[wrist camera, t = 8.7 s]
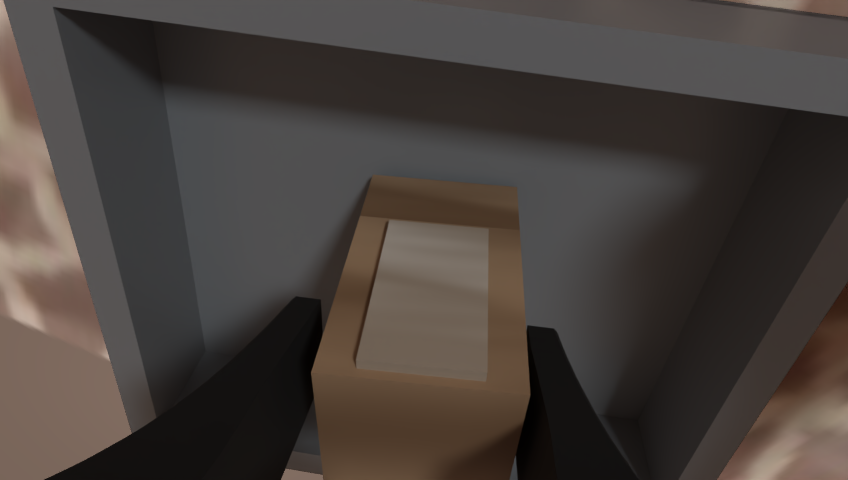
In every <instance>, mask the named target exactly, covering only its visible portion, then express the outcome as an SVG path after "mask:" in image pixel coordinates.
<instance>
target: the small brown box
mask: <svg viewBox="0 0 848 480" xmlns="http://www.w3.org/2000/svg"><path fill="white" fill-rule="evenodd" d="M311 376H312V384H313V393H314V402H315V410H316V419H317V427H318V436H319V445H320V453H321V462H322V470H323V479H324V480H509V479H510V475H511V471H512V467H513V463H514V459H515V455H516V451H517V447H518V443H519V439H520V435H521V431H522V427H523V423H524V419H525V415H526V411H527V407H528V403H529V399H530V382H529V366H528V350H527V335H526V319H525V304H524V288H523V272H522V257H521V241H520V225H519V210H518V194H517V187H511V186H499V185H488V184H476V183H464V182H453V181H441V180H430V179H418V178H406V177H395V176H383V175H373V176H372V179H371V182H370V185H369V189H368V192H367V195H366V198H365V201H364V205H363V208H362V211H361V214H360V218H359V221H358V224H357V227H356V230H355V234H354V237H353V240H352V243H351V246H350V250H349V253H348V256H347V259H346V262H345V266H344V269H343V272H342V275H341V278H340V282H339V285H338V288H337V291H336V294H335V298H334V301H333V304H332V307H331V311H330V314H329V317H328V320H327V323H326V327H325V330H324V333H323V336H322V339H321V343H320V346H319V349H318V352H317V355H316V359H315V362H314V365H313V368H312V371H311Z"/></svg>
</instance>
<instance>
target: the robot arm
mask: <svg viewBox="0 0 848 480" xmlns="http://www.w3.org/2000/svg"><path fill="white" fill-rule="evenodd" d="M526 335H527V350H528V366H529V382H530V399H529V403H528V407H527V411H526V415H525V419H524V423H523V427H522V431H521V435H520V439H519V443H518V447H517V451H516V466H517V478H518V480H640V479H639V478H638V477H637V475H636V474H635V473H634V471H633V470H632V468H631V467H630V466H629V464H628V463H627V461H626V460H625V459H624V457H623V456H622V454H621V453H620V451H619V450H618V448H617V447H616V445H615V444H614V442H613V441H612V439H611V437H610V436H609V434H608V433H607V431H606V429H605V428H604V426H603V424H602V423H601V421H600V419H599V418H598V416H597V414H596V413H595V411H594V409H593V407H592V405H591V404H590V402H589V400H588V398H587V396H586V394H585V392H584V390H583V389H582V387H581V385H580V383H579V381H578V379H577V377H576V375H575V373H574V370H573V368H572V366H571V364H570V362H569V360H568V357H567V355H566V353H565V350H564V348H563V346H562V343H561V341H560V338H559V335H558V333H557V331H556V330H555V329H554V328H546V327H538V326H530V325H528V326H527V331H526ZM322 336H323V329H322V311H321V299H314V298H306V297H298V296H296V297H294V298H293V299H292V300H291V301H290V302H289V303H288V304H287V305H286V306H285V307H284V308H283V309H282V310H281V311H280V313H279V314H278V315H277V316H276V317H275V318H274V319H273V320H272V321H271V322H270V323H269V324H268V325H267V326H266V327H265V328H264V329H263V330H262V331H261V332H260V333H259V334H258V335H257V336H256V337H255V338H254V339H253V340H252V341H251V342H250V343H249V344H248V345H247V346H246V347H244V348H243V349H242V350H241V351H240V352H239V353H238V354H237V355H236V356H235V357H234V358H233V359H232V360H230V361H229V362H228V363H227V364H226V365H225V366H223V367H222V368H221V369H220V370H219V371H218V372H217V373H215V374H214V375H213V376H212V377H211V378H210V379H208V380H207V381H206V382H205V383H203V384H202V385H201V386H200V387H198V388H197V389H196V390H195V391H193V392H192V393H191V394H189V395H188V396H187V397H185V398H184V399H183V400H181V401H180V402H179V403H177V404H176V405H174V406H173V407H172V408H170V409H169V410H167V411H166V412H164V413H163V414H161V415H160V416H158V417H157V418H155V419H154V420H152V421H151V422H149V423H148V424H146V425H145V426H143V427H142V428H140V429H139V430H137V431H135V432H134V433H132V434H131V435H129V436H127V437H126V438H124V439H122V440H120V441H119V442H117V443H115V444H113V445H112V446H110V447H108V448H106V449H104V450H103V451H101V452H99V453H97V454H95V455H93V456H92V457H90V458H88V459H86V460H84V461H82V462H80V463H78V464H76V465H74V466H72V467H70V468H68V469H66V470H64V471H62V472H60V473H58V474H55V475H53V476H51V477H49V478H47V479H45V480H281V478H282V475H283V473H284V471H285V468H286V466H287V463H288V461H289V458H290V456H291V454H292V451H293V449H294V446H295V444H296V441H297V439H298V436H299V434H300V432H301V429H302V427H303V424H304V422H305V419H306V417H307V414H308V412H309V409H310V407H311V404H312V402H313V399H314V393H313V384H312V376H311V371H312V368H313V365H314V362H315V359H316V355H317V352H318V349H319V346H320V343H321V339H322Z"/></svg>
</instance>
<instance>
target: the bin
mask: <svg viewBox="0 0 848 480" xmlns="http://www.w3.org/2000/svg"><path fill="white" fill-rule="evenodd" d="M4 4H5V7H6V10H7V14H8V17H9V20H10V24H11V27H12V31H13V34H14V37H15V41H16V44H17V47H18V51H19V54H20V58H21V61H22V64H23V68H24V71H25V74H26V78H27V81H28V85H29V88H30V91H31V95H32V98H33V101H34V105H35V108H36V111H37V115H38V118H39V122H40V125H41V128H42V132H43V135H44V138H45V142H46V145H47V149H48V152H49V155H50V159H51V162H52V165H53V169H54V172H55V176H56V179H57V182H58V186H59V189H60V192H61V196H62V199H63V203H64V206H65V209H66V213H67V216H68V219H69V223H70V226H71V230H72V233H73V236H74V240H75V243H76V246H77V250H78V253H79V256H80V260H81V263H82V267H83V270H84V273H85V277H86V280H87V283H88V287H89V290H90V294H91V297H92V300H93V304H94V307H95V310H96V314H97V317H98V321H99V324H100V327H101V331H102V334H103V337H104V341H105V344H106V348H107V351H108V354H109V358H110V361H111V364H112V368H113V371H114V374H115V378H116V381H117V385H118V388H119V391H120V395H121V398H122V401H123V405H124V408H125V412H126V415H127V418H128V422H129V425H130V428H131V432H132V433H134V432H135V431H137V430H139V429H140V428H142V427H143V426H145V425H146V424H148V423H149V422H151V421H152V420H154V419H155V418H157V417H158V416H160V415H161V414H163V413H164V412H166V411H167V410H169V409H170V408H172V407H173V406H174V405H176V404H177V403H179V402H180V401H181V400H183V399H184V398H185V397H187V396H188V395H189V394H191V393H192V392H193V391H195V390H196V389H197V388H198V387H200V386H201V385H202V384H203V383H205V382H206V381H207V380H208V379H210V378H211V377H212V376H213V375H214V374H215V373H217V372H218V371H219V370H220V369H221V368H222V367H223V366H225V365H226V364H227V363H228V362H229V361H230V360H232V359H233V358H234V357H235V356H236V355H237V354H238V353H239V352H240V351H241V350H242V349H243V348H244V347H246V346H247V345H248V344H249V343H250V342H251V341H252V340H253V339H254V338H255V337H256V336H257V335H258V334H259V333H260V332H261V331H262V330H263V329H264V328H265V327H266V326H267V325H268V324H269V323H270V322H271V321H272V320H273V319H274V318H275V317H276V316H277V315H278V314H279V313H280V311H281V310H282V309H283V308H284V307H285V306H286V305H287V304H288V303H289V302H290V301H291V300H292V299H293V298H294V297H296V296H298V297H306V298H314V299H321V311H322V329H323V333H324V330H325V327H326V323H327V320H328V317H329V314H330V311H331V307H332V304H333V301H334V298H335V294H336V291H337V288H338V285H339V282H340V278H341V275H342V272H343V269H344V266H345V262H346V259H347V256H348V253H349V250H350V246H351V243H352V240H353V237H354V234H355V230H356V227H357V224H358V221H359V218H360V214H361V211H362V208H363V205H364V201H365V198H366V195H367V192H368V189H369V185H370V182H371V179H372V176H373V175H383V176H395V177H406V178H418V179H430V180H441V181H453V182H464V183H476V184H488V185H499V186H511V187H517V194H518V210H519V225H520V241H521V257H522V272H523V288H524V304H525V319H526V331H527V326H528V325H530V326H538V327H546V328H554V329H555V330H556V331H557V333H558V335H559V338H560V341H561V343H562V346H563V348H564V350H565V353H566V355H567V357H568V360H569V362H570V364H571V366H572V368H573V370H574V373H575V375H576V377H577V379H578V381H579V383H580V385H581V387H582V389H583V390H584V392H585V394H586V396H587V398H588V400H589V402H590V404H591V405H592V407H593V409H594V411H595V413H596V414H597V416H598V418H599V419H600V421H601V423H602V424H603V426H604V428H605V429H606V431H607V433H608V434H609V436H610V437H611V439H612V441H613V442H614V444H615V445H616V447H617V448H618V450H619V451H620V453H621V454H622V456H623V457H624V459H625V460H626V461H627V463H628V464H629V466H630V467H631V468H632V470H633V471H634V473H635V474H636V475H637V477H638V478H639V479H640V480H717V478H718V477H719V475H720V474H721V472H722V471H723V469H724V468H725V466H726V465H727V463H728V462H729V460H730V459H731V457H732V456H733V454H734V453H735V451H736V450H737V448H738V447H739V445H740V444H741V442H742V441H743V439H744V438H745V436H746V435H747V433H748V432H749V430H750V429H751V427H752V426H753V424H754V422H755V421H756V419H757V418H758V416H759V415H760V413H761V412H762V410H763V409H764V407H765V406H766V404H767V403H768V401H769V400H770V398H771V397H772V395H773V394H774V392H775V391H776V389H777V388H778V386H779V385H780V383H781V382H782V380H783V379H784V377H785V376H786V374H787V373H788V371H789V370H790V368H791V367H792V365H793V364H794V362H795V361H796V359H797V358H798V356H799V355H800V353H801V352H802V350H803V349H804V347H805V346H806V344H807V343H808V341H809V339H810V338H811V336H812V335H813V333H814V332H815V330H816V329H817V327H818V326H819V324H820V323H821V321H822V320H823V318H824V317H825V315H826V314H827V312H828V311H829V309H830V308H831V306H832V305H833V303H834V302H835V300H836V299H837V297H838V296H839V294H840V293H841V291H842V290H843V288H844V287H845V285H846V284H847V282H848V17H842V16H834V15H827V14H819V13H812V12H804V11H796V10H789V9H781V8H773V7H766V6H758V5H750V4H743V3H735V2H728V1H720V0H4ZM286 469H293V470H298V471H304V472H310V473H316V474H322V475H323V470H322V462H321V453H320V445H319V436H318V427H317V419H316V410H315V402H314V399H313V402H312V404H311V407H310V409H309V412H308V414H307V417H306V419H305V422H304V424H303V427H302V429H301V432H300V434H299V436H298V439H297V441H296V444H295V446H294V449H293V451H292V454H291V456H290V458H289V461H288V463H287V466H286ZM509 480H518V478H517V466H516V455H515V459H514V463H513V467H512V471H511V475H510V479H509Z"/></svg>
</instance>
